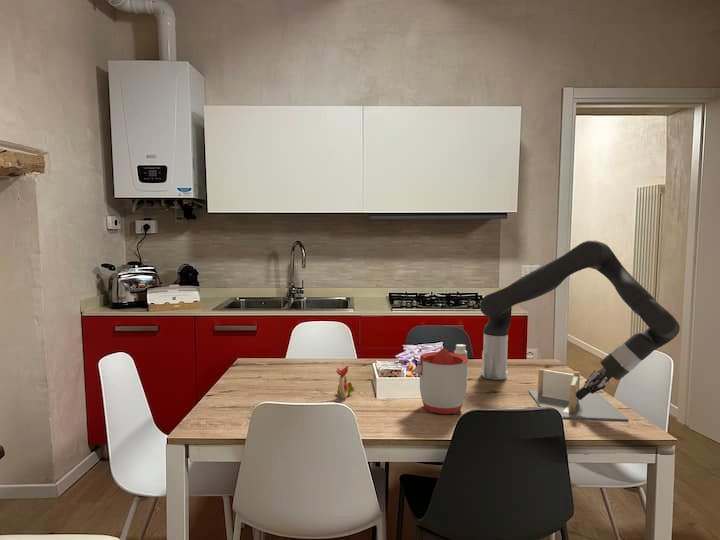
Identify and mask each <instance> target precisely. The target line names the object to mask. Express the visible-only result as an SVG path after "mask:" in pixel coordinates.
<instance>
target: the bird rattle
mask: <svg viewBox="0 0 720 540" xmlns="http://www.w3.org/2000/svg"><path fill="white" fill-rule="evenodd" d="M348 368H349V366H347V365H346V366H345V367H343V368H342V369H340V368H337V369H336V373H337V374H338V376H339V381H338V385H337V391H336V394H337V396H339V397H341V399H342V401H343V400H344V401H346V399H347V397H348V396H351V393H352V392H354V391H355V387H354V386H353V383H352V382H351V381H349V382H348V380H347V376H346V375H347V373H348V372H349V369H348Z"/></svg>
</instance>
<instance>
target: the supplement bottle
mask: <svg viewBox="0 0 720 540" xmlns="http://www.w3.org/2000/svg"><path fill="white" fill-rule="evenodd" d="M453 353H456V354H461V355H464V356H466V357H467V358H468V351H467V350H466V344H462V343H461V344H460V343H459V344H458V343H457V344H455V349H454V350H453Z"/></svg>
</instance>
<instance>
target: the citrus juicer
mask: <svg viewBox="0 0 720 540" xmlns="http://www.w3.org/2000/svg"><path fill="white" fill-rule="evenodd" d="M419 356H420V357H419V365H416V366H415V367H414V370H413V374H414V375H416V374H419V390H420V391H419V392H420V397H421V400H422V401H421V402H422V404H423V407H424V409H425V410H427V411H428V412H430V413H432V412H434V413H433V414H440V415H442V414H443V415H450V414H451V413H452V414H456V413H455V412H457V413H458V412H460V411H461V409H462V407H463V405H464V402H465V399H466V398H465V397H466V393H467V386H468V382H467V381H468V362H469V358H468V356H467V357H466V356H464V355H461V354H456V353H454V352H449V351H448V350H447V349H446V348H444V347H443V348H441V349H440V350H439V351H431V352H430V351H429V352H424V353H422V354H421V355H419Z"/></svg>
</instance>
